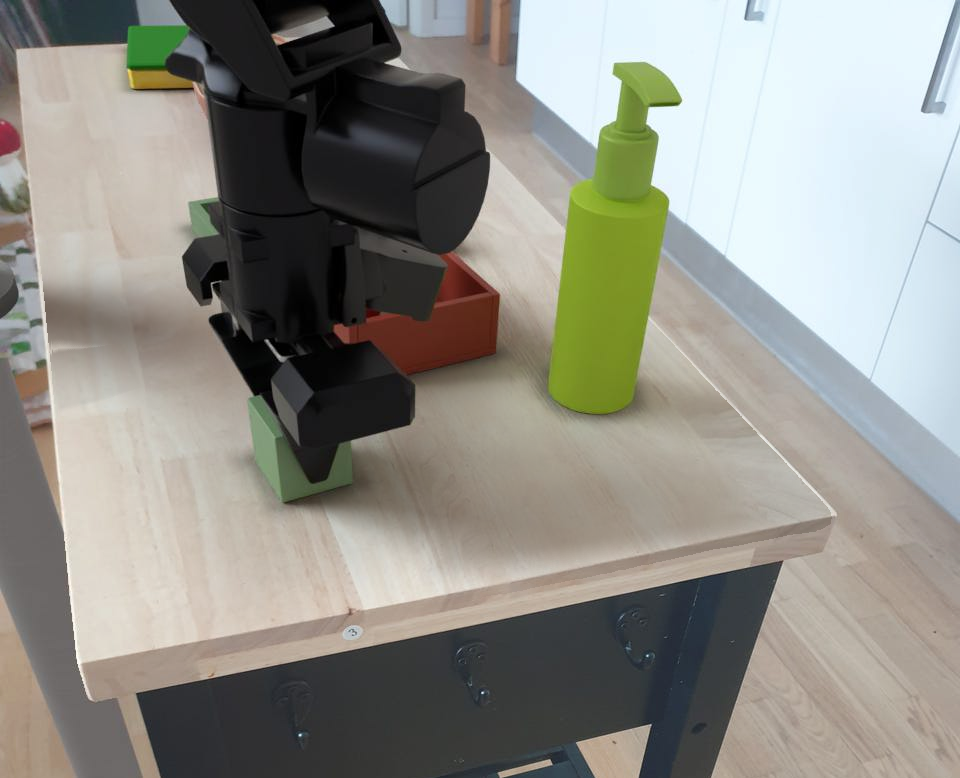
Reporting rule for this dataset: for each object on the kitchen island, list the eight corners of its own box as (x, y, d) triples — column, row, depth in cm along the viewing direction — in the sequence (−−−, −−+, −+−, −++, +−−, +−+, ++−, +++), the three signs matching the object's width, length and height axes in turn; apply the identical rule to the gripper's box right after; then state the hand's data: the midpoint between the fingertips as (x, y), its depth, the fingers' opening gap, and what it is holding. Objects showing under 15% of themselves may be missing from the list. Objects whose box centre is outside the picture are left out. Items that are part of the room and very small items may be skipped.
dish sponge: (130, 90, 104) (126, 64, 102) (132, 49, 113) (127, 24, 112) (200, 88, 105) (197, 63, 104) (196, 48, 115) (193, 24, 113)
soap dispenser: (569, 427, 65) (615, 92, 50) (536, 372, 69) (570, 50, 55) (652, 417, 66) (720, 89, 52) (615, 364, 71) (668, 48, 56)
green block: (282, 503, 58) (274, 438, 55) (255, 461, 60) (246, 397, 57) (353, 483, 59) (350, 419, 56) (324, 443, 62) (319, 380, 59)
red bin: (351, 388, 67) (348, 326, 63) (289, 313, 73) (284, 253, 70) (496, 353, 71) (500, 293, 68) (425, 285, 77) (426, 227, 74)
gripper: (519, 243, 45) (497, 511, 57) (353, 108, 56) (362, 355, 68) (289, 288, 41) (314, 568, 53) (158, 133, 52) (202, 392, 64)
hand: (302, 458), depth 59 cm, fingers closed on green block, 4 cm apart
